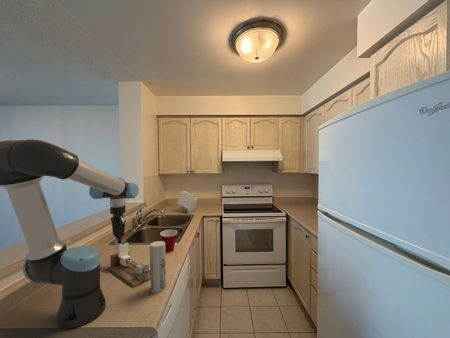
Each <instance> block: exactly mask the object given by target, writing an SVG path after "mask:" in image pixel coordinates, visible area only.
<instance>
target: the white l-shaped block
mask: <svg viewBox="0 0 450 338" xmlns="http://www.w3.org/2000/svg"><path fill="white" fill-rule="evenodd" d="M129 249H130V247H129V243H128V242H126V243H122V245H119V246H118V250H117V251H118V252H117V254H118V257H119V258H120V264H122V265H123V266H126V265H129V264H128V263H127V262H126V260H127V259H128V260H130V261H131V260H132V256H131V255H130V251H129ZM128 254H129V255H128Z"/></svg>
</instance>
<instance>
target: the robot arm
mask: <svg viewBox="0 0 450 338" xmlns="http://www.w3.org/2000/svg"><path fill="white" fill-rule="evenodd" d="M44 177H52V178H56V179H59V180H62V181H63V180H67V179H68V180H70V181H74V182H77V183H79V184H82V185H84V186H87V187H89V189H88V192H89V197H91V198H92V199H94V200H101V199H109V206H110V207H109V213H110V214H111V215H112V217H110V222H111V228H112V235H113V236H114V237H115V242H114V243H115V250H116V251H118V246H119V245H122V244H123V242H122V240H123V239H122V238H123V237H124V236H125V229H126V222H127V220H126V219H124V214H125V213H126V211H127V210H126V200H130V199H135V198H137V197H138V194H139V192H140V191H139V186H138V184H136V182H135V183H134V182H126V179H125V178H124V177H116V176H113V175H111V174H109V173H107V172H106V171H103V170H101V169H99V168H97V167H95V166H94V165H91V164H89V163H86V162H85V161H82V160H80V157H79V156H78V155H77V154H75V153H73V152H71V151H69V150H67V149H65V148H62V147H60V146H58V145H55V144H53V143H50V142H48V141H44V140H40V139H39V140H38V139H31V138H30V139H19V140H17V139H16V140H13V139H11V140H2V141H0V187H1V188H3V189H5V191H6V192H7V194H8V198H9V200H10V202H11V206H12V208H13V210H14V214H15V216H16V219H17V221H18V223H19V226H20V230H21V232H22V234H23V237H24V240H25V243H26V245H27V248H28V251H27V253H26V254H25V261H24V264H23V265H22V273H23V275H24V277H25V278H26V279H28V281H30V282H34V283H36V284H37V283H38V284H47V285H54V286H55V285H56V286H61V294H62V295H61V300H60V304H59V307H58V310H57V313H56V317H55V320H56V321H55V323H56V325H57V327H58V328H60V329H74V328H78V327H82V326H85V325H87V324H89V323H91V322H93V321H94V320H96V319H97V318H98V317H100V316H101V315H102V314H103V313H104V311H105V310H106V307H107V302H106V301H107V300H106V297H105V295H104V292H103V290H102V288H101V258H100V252H99V250H98V249H97V248H95V247H93V246H88V245H85V246H84V245H83V246H80V245H79V246H75V247H71V248H67V244H66V242H65V240H63V239H59V236H58V232H57V230H56V228H55V223H54V220H53V218H52V214H51V211H50V208H49V206H48V203H47V199H46V197H45V193H44V190H43V188H42V185H41V181H42V179H43V178H44Z"/></svg>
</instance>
